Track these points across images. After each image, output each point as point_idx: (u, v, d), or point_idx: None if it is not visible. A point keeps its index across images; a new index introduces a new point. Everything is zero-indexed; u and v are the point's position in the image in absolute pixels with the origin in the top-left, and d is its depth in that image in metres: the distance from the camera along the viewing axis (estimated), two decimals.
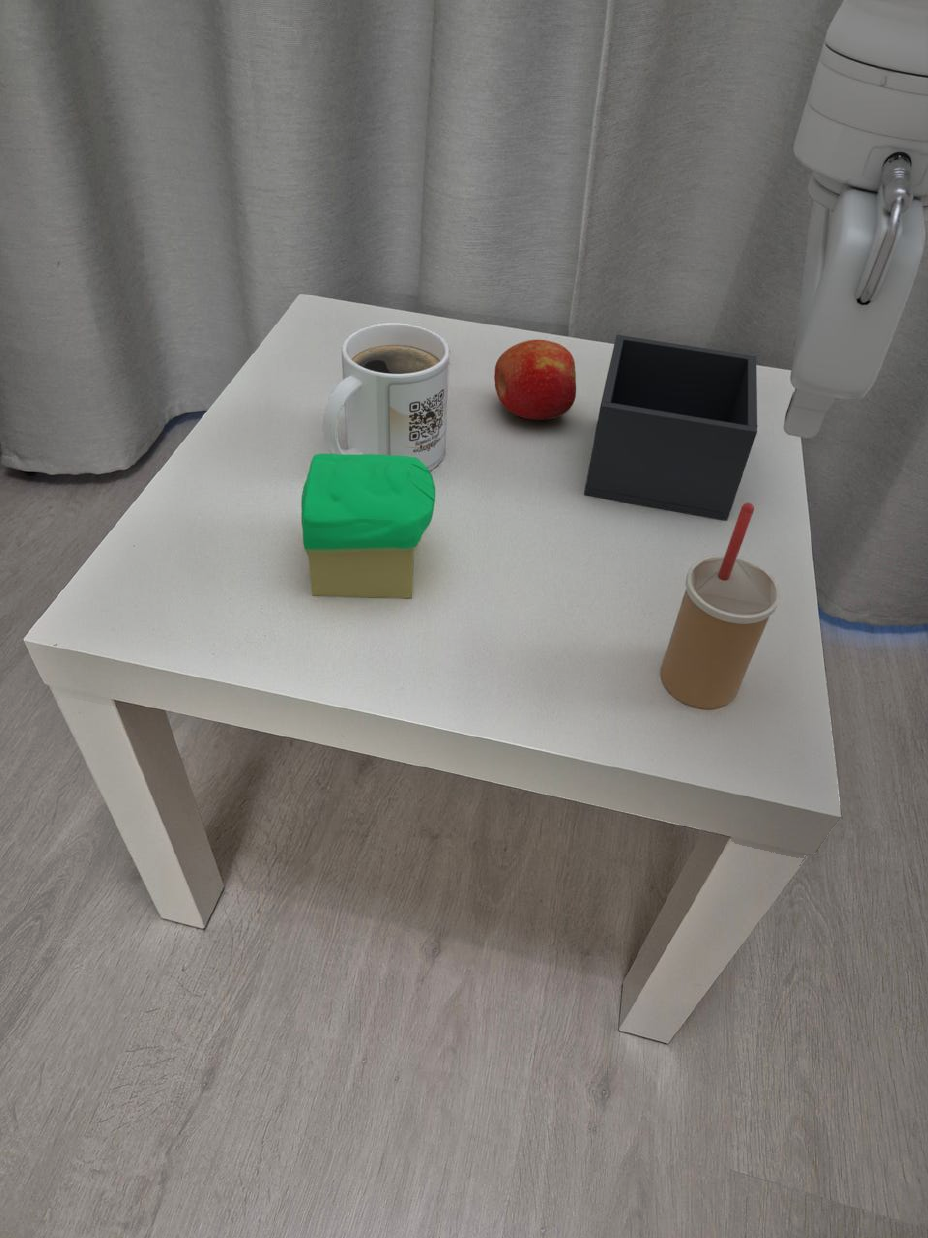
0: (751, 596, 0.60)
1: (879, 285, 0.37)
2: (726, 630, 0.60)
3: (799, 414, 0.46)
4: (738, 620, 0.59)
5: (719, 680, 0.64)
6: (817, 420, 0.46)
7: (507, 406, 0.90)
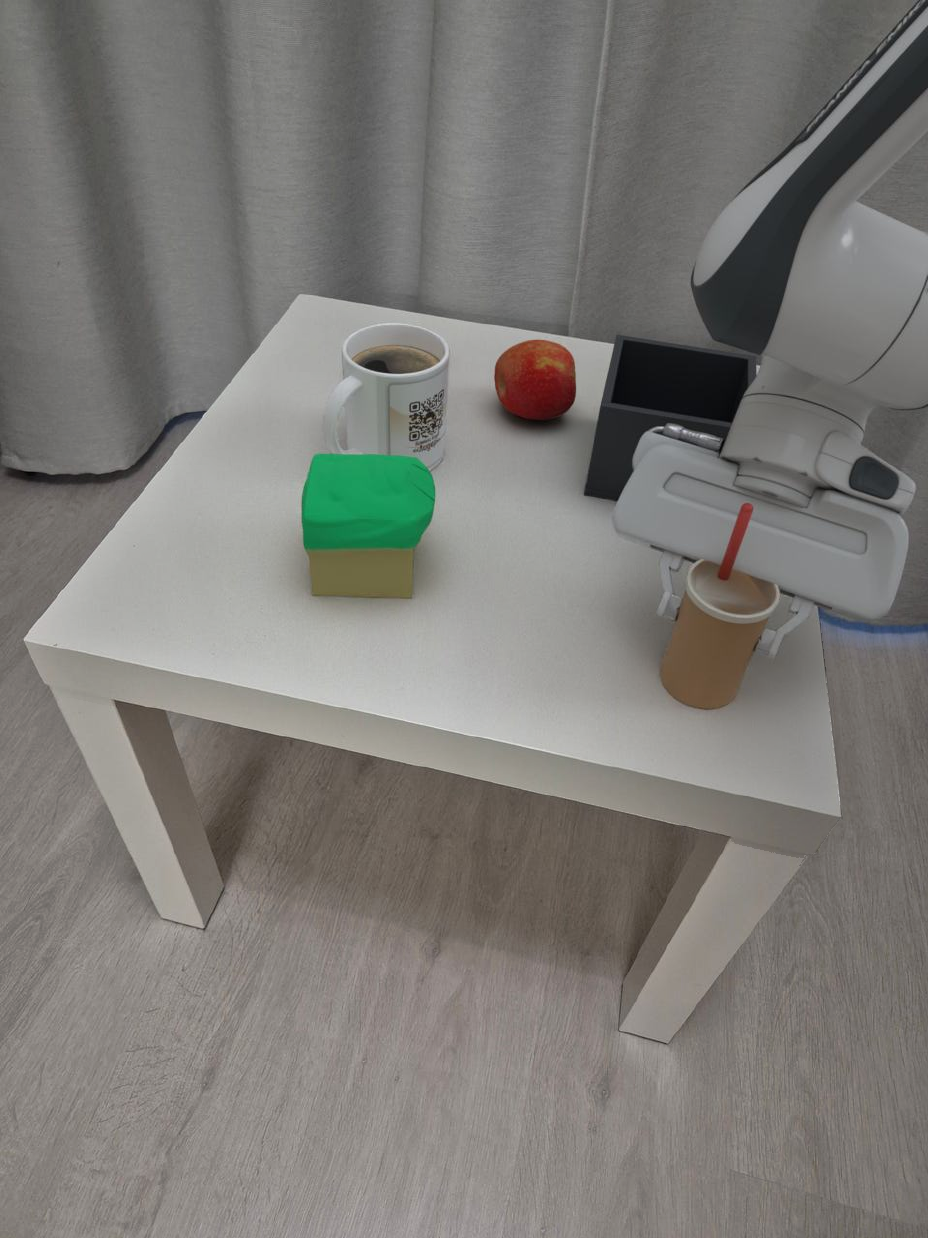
0: (750, 596, 0.60)
1: (633, 457, 0.66)
2: (725, 630, 0.60)
3: None
4: (738, 620, 0.59)
5: (719, 680, 0.64)
6: (662, 599, 0.64)
7: (507, 406, 0.90)
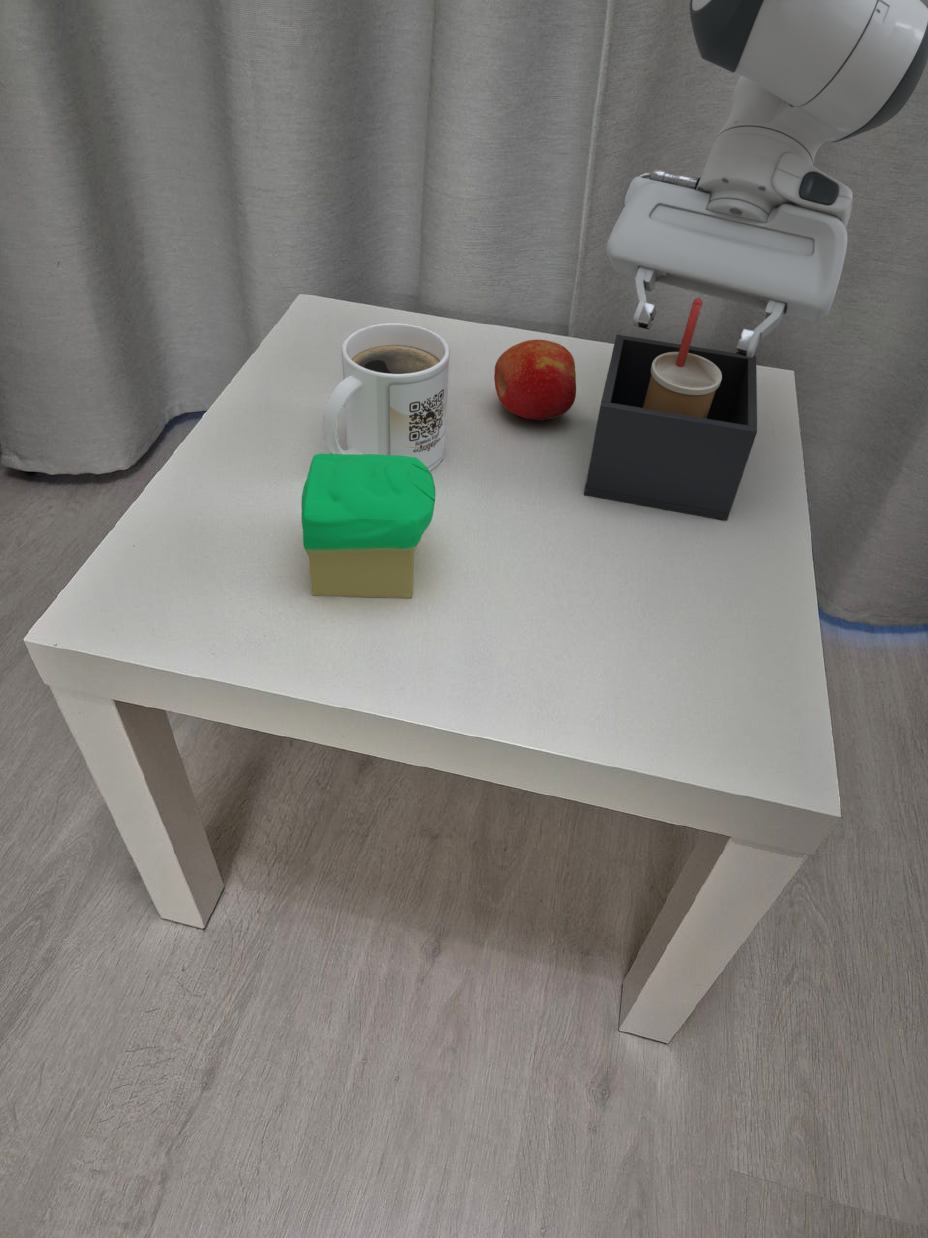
0: (699, 377, 0.79)
1: (624, 199, 0.80)
2: (680, 402, 0.79)
3: None
4: (689, 391, 0.78)
5: None
6: (637, 308, 0.78)
7: (507, 406, 0.90)
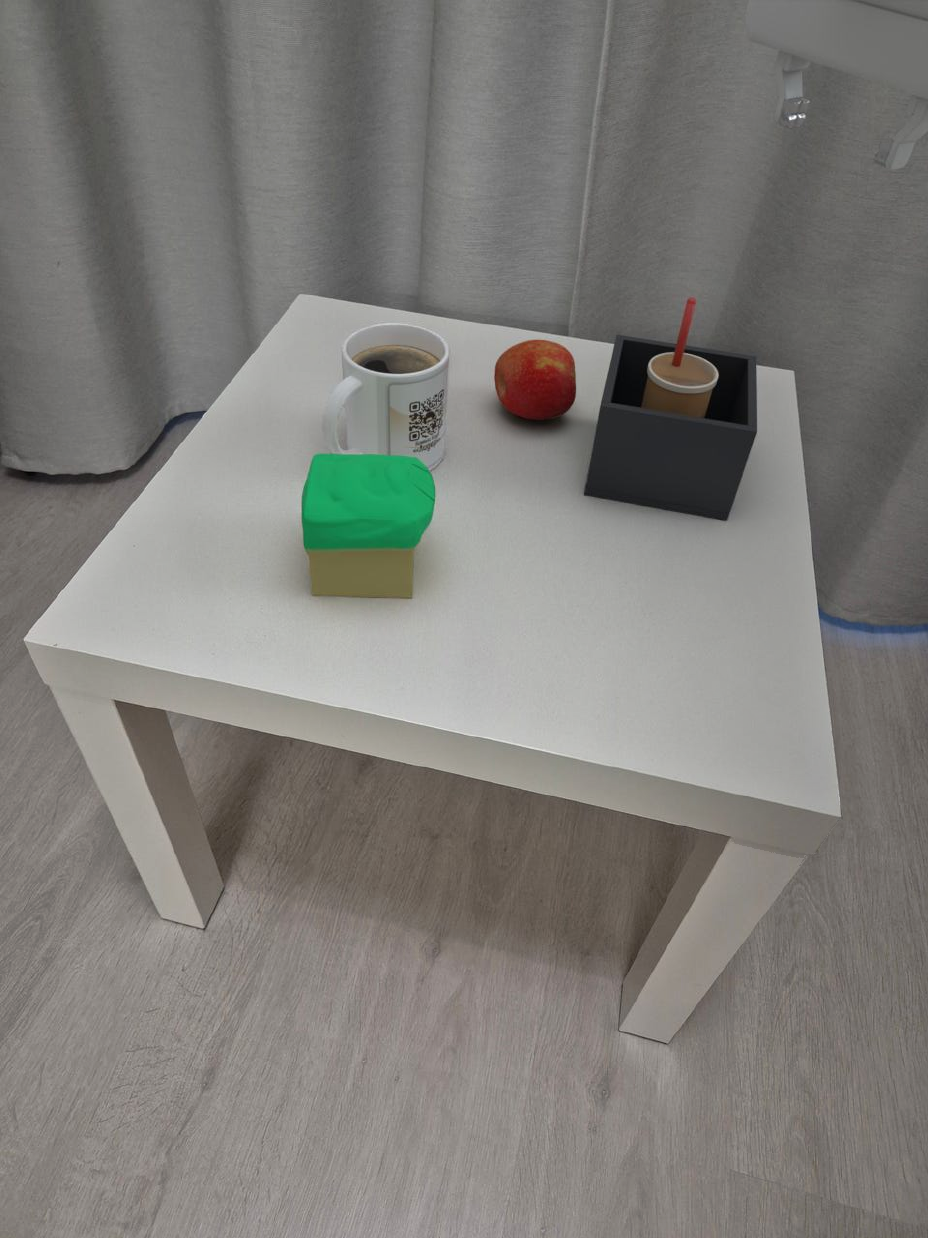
0: (696, 376, 0.79)
1: None
2: (677, 401, 0.79)
3: None
4: (685, 390, 0.78)
5: None
6: None
7: (507, 406, 0.90)
